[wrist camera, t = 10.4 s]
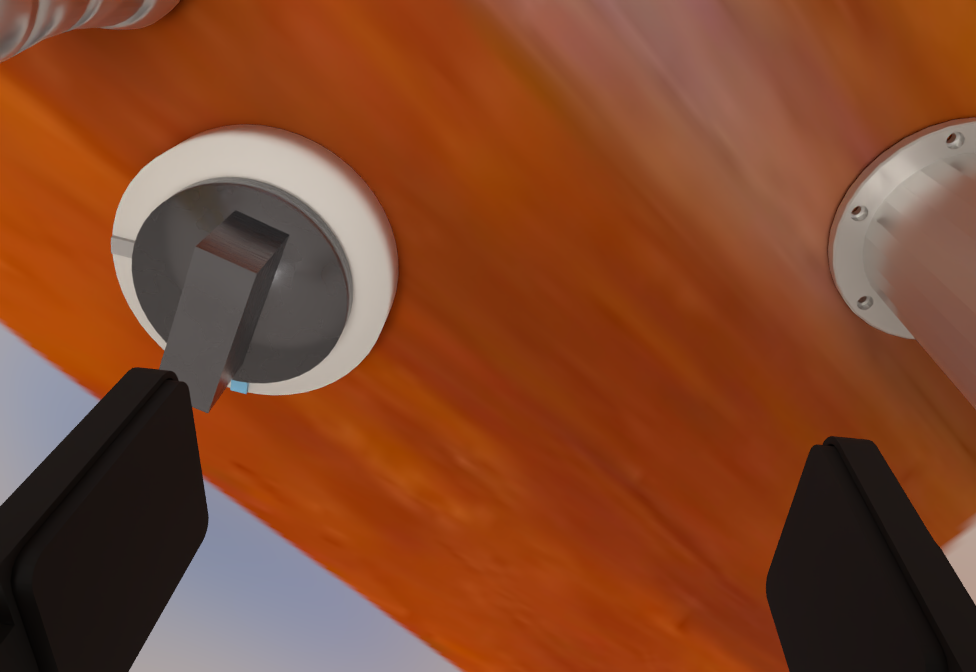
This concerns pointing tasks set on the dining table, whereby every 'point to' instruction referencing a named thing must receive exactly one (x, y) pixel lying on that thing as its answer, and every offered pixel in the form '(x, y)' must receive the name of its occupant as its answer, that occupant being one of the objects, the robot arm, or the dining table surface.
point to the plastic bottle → (71, 18)
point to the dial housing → (309, 180)
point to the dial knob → (240, 285)
